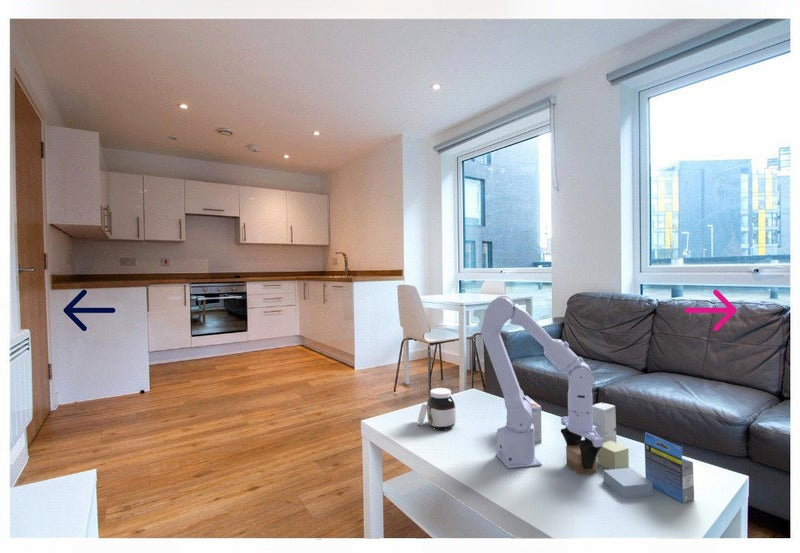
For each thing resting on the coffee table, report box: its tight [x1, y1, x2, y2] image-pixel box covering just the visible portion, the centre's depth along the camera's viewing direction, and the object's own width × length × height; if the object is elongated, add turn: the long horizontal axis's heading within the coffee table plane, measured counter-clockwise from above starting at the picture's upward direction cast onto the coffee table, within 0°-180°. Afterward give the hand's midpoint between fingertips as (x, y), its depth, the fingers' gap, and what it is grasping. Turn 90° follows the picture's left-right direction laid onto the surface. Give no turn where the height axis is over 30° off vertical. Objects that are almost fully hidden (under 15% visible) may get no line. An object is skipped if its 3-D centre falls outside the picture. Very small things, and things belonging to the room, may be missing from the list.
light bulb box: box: [524, 395, 543, 444], centre depth 119 cm, size 11×7×11 cm, turn 5°
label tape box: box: [643, 431, 695, 504], centre depth 88 cm, size 9×4×12 cm, turn 21°
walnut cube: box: [565, 445, 597, 475], centre depth 99 cm, size 5×5×5 cm
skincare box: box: [593, 402, 617, 443], centre depth 109 cm, size 6×4×12 cm
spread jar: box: [417, 387, 457, 431], centre depth 128 cm, size 12×11×12 cm
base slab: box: [602, 467, 654, 499], centre depth 89 cm, size 7×7×3 cm
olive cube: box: [597, 441, 630, 470], centre depth 100 cm, size 5×5×5 cm
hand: (581, 462), depth 99 cm, fingers closed on walnut cube, 5 cm apart
